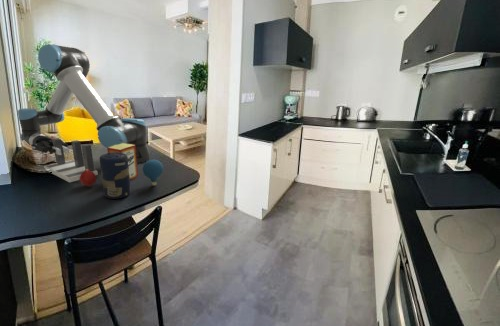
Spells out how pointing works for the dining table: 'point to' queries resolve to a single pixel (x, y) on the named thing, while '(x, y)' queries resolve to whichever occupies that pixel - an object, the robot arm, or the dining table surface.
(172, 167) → the dining table surface
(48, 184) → the dining table surface
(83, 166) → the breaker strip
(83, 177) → the pomegranate
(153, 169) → the light bulb
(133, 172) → the baking soda box
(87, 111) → the robot arm
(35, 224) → the dining table surface
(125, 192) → the dark blue cylinder
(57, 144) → the block
